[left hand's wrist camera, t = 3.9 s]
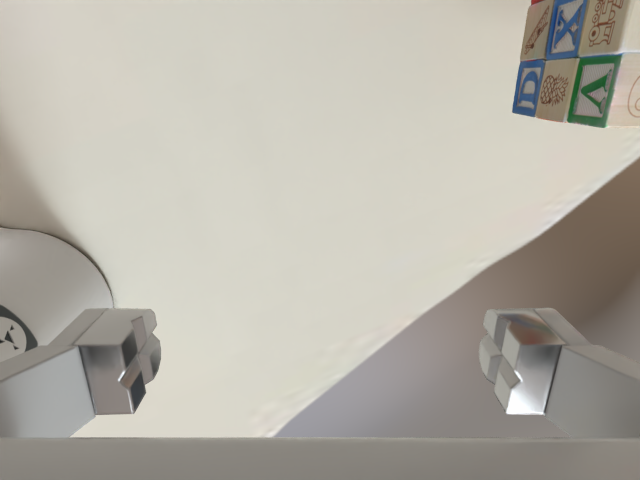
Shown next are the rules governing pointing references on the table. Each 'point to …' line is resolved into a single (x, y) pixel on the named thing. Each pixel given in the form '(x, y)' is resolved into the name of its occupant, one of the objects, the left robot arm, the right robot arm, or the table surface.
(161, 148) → the table surface
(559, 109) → the stack of blocks
